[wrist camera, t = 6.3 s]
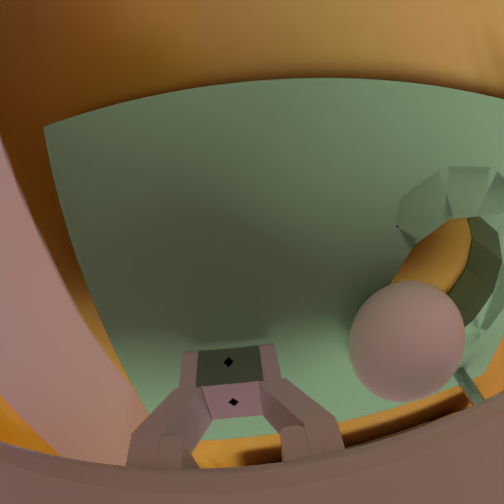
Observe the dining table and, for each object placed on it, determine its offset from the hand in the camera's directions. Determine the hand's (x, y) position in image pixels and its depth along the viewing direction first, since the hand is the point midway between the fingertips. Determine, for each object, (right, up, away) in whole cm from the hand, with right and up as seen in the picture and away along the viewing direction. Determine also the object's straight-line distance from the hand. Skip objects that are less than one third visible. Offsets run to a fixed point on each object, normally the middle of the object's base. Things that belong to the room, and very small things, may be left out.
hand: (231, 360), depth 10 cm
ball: (+6, +1, -1) cm, 6 cm away
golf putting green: (+5, +3, +3) cm, 7 cm away
